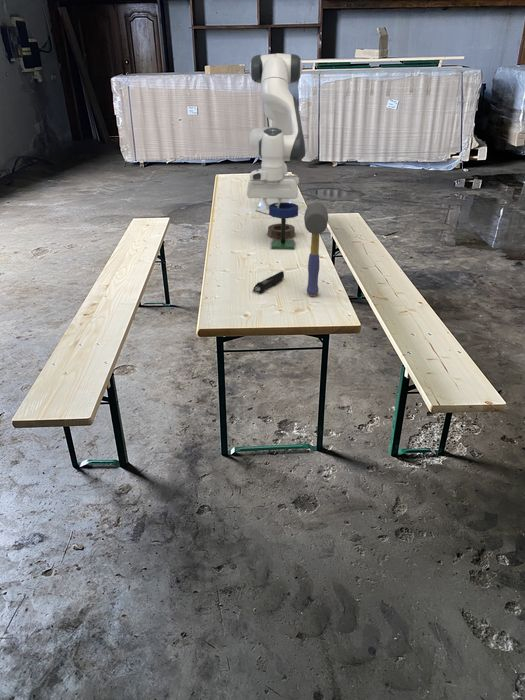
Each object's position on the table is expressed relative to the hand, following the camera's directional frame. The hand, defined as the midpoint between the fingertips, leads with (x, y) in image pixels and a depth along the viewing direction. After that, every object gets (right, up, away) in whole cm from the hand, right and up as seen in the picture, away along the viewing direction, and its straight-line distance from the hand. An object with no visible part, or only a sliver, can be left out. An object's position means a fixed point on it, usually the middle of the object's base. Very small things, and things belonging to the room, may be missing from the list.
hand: (272, 209), depth 213 cm
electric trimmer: (-2, -35, -28) cm, 45 cm away
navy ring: (+5, -2, +1) cm, 5 cm away
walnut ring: (+4, -6, +20) cm, 21 cm away
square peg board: (+5, -13, +7) cm, 16 cm away
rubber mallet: (+13, -39, -35) cm, 54 cm away
